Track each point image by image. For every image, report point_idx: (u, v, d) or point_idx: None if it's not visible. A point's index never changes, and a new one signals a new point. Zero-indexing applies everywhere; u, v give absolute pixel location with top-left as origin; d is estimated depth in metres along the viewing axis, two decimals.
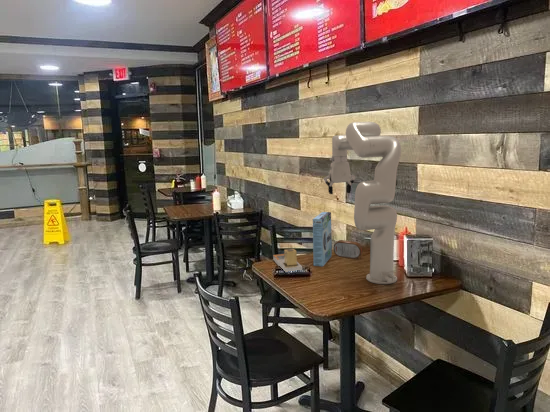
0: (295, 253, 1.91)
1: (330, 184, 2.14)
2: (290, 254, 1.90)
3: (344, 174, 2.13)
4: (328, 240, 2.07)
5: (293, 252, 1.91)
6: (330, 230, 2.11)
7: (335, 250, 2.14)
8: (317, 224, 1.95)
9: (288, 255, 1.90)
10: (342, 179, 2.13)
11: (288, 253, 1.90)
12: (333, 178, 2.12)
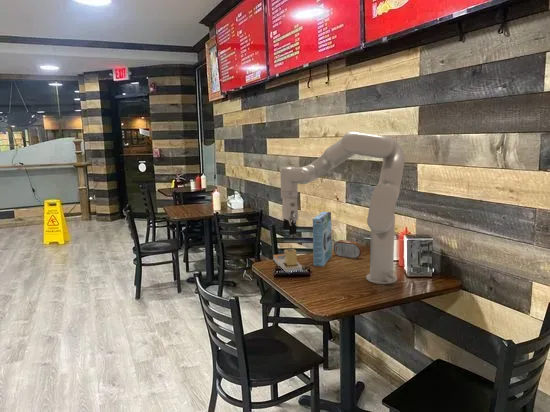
0: (295, 253, 1.91)
1: (295, 223, 1.85)
2: (290, 254, 1.90)
3: None
4: (328, 240, 2.07)
5: (293, 252, 1.91)
6: (330, 230, 2.11)
7: (335, 250, 2.14)
8: (317, 224, 1.95)
9: (288, 255, 1.90)
10: None
11: (288, 253, 1.90)
12: (297, 215, 1.86)
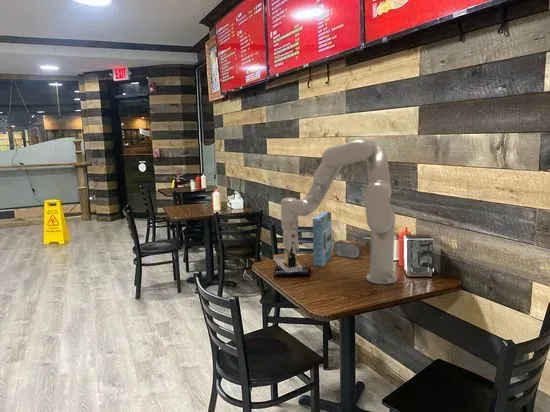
0: None
1: (294, 255, 1.90)
2: None
3: None
4: (328, 240, 2.07)
5: None
6: (330, 230, 2.11)
7: (335, 250, 2.14)
8: (317, 224, 1.95)
9: (288, 255, 1.90)
10: None
11: (288, 253, 1.90)
12: (298, 246, 1.89)
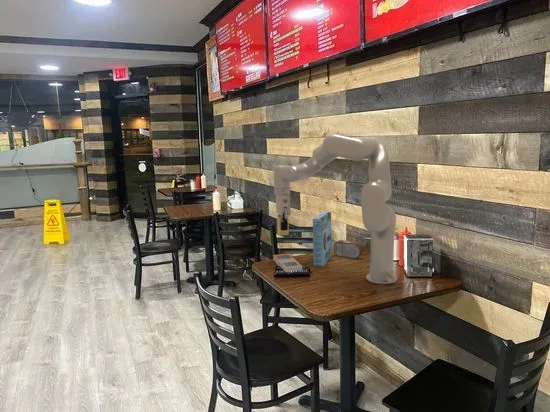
0: None
1: None
2: None
3: None
4: (328, 240, 2.07)
5: None
6: (330, 230, 2.11)
7: (335, 250, 2.14)
8: (317, 224, 1.95)
9: (280, 220, 1.99)
10: None
11: (280, 218, 1.99)
12: None
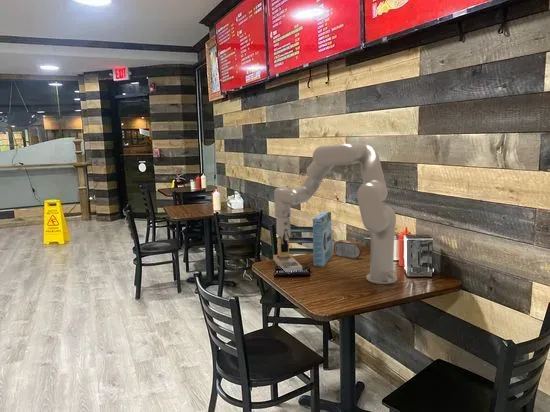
0: (288, 240, 2.02)
1: None
2: None
3: None
4: (328, 240, 2.07)
5: None
6: (330, 230, 2.11)
7: (335, 250, 2.14)
8: (317, 224, 1.95)
9: (281, 242, 2.01)
10: None
11: (281, 240, 2.01)
12: (290, 233, 2.00)
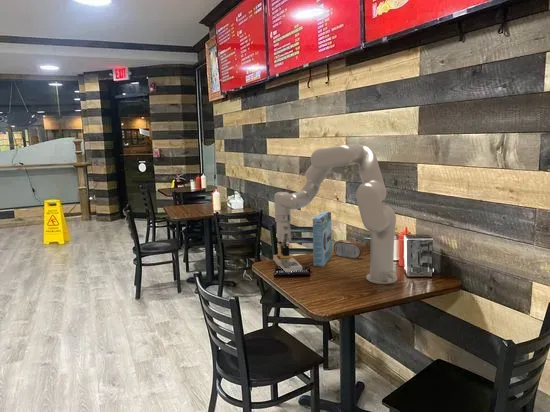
0: None
1: (288, 245, 1.99)
2: None
3: None
4: (328, 240, 2.07)
5: None
6: (330, 230, 2.11)
7: (335, 250, 2.14)
8: (317, 224, 1.95)
9: (281, 248, 2.02)
10: None
11: (281, 247, 2.02)
12: (290, 237, 2.00)
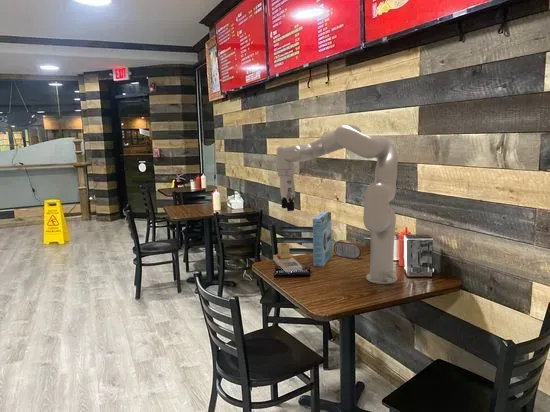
0: (288, 247, 2.02)
1: None
2: (283, 247, 2.02)
3: None
4: (328, 240, 2.07)
5: (286, 246, 2.02)
6: (330, 230, 2.11)
7: (335, 250, 2.14)
8: (317, 224, 1.95)
9: (281, 248, 2.02)
10: None
11: (281, 247, 2.02)
12: None
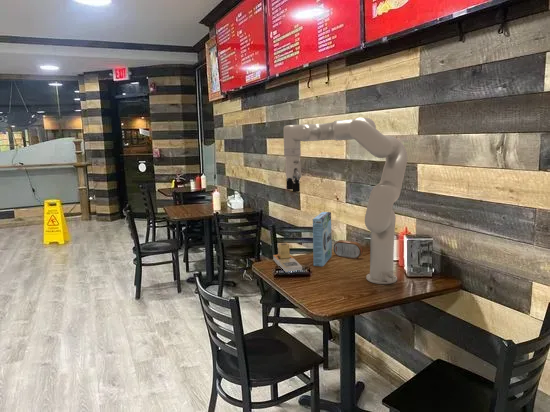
0: (288, 247, 2.02)
1: None
2: (283, 247, 2.02)
3: None
4: (328, 240, 2.07)
5: (286, 246, 2.02)
6: (330, 230, 2.11)
7: (335, 250, 2.14)
8: (317, 224, 1.95)
9: (281, 248, 2.02)
10: None
11: (281, 247, 2.02)
12: None
